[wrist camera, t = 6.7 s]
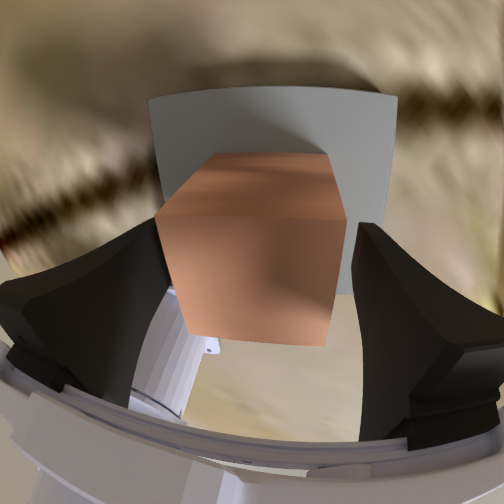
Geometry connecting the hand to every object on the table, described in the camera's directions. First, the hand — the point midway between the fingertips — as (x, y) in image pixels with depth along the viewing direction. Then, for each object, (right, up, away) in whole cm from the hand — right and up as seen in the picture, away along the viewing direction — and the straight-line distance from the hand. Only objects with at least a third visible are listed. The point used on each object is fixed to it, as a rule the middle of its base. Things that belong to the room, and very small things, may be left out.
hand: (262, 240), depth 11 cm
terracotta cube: (+1, +2, +2) cm, 3 cm away
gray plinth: (+1, +3, +5) cm, 6 cm away
